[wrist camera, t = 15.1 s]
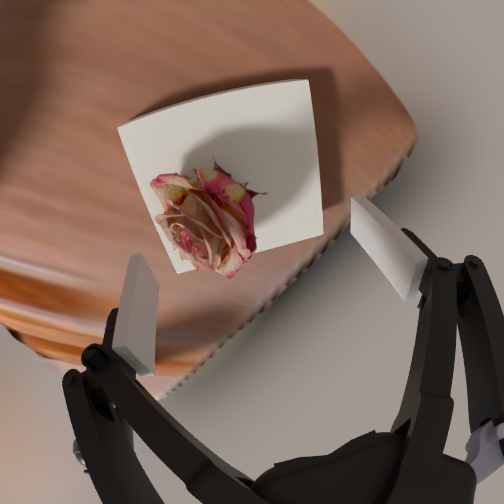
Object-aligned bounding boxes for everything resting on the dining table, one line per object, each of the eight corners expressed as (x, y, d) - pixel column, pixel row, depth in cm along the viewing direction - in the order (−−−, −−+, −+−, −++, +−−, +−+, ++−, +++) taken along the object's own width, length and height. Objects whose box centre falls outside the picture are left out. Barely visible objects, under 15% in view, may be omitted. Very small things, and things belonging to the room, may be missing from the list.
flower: (307, 188, 20) (260, 265, 16) (256, 238, 28) (214, 300, 23) (207, 114, 19) (132, 167, 15) (181, 181, 27) (128, 233, 22)
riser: (178, 251, 31) (177, 273, 28) (128, 120, 21) (117, 127, 18) (310, 216, 32) (323, 234, 28) (292, 79, 22) (308, 79, 19)
